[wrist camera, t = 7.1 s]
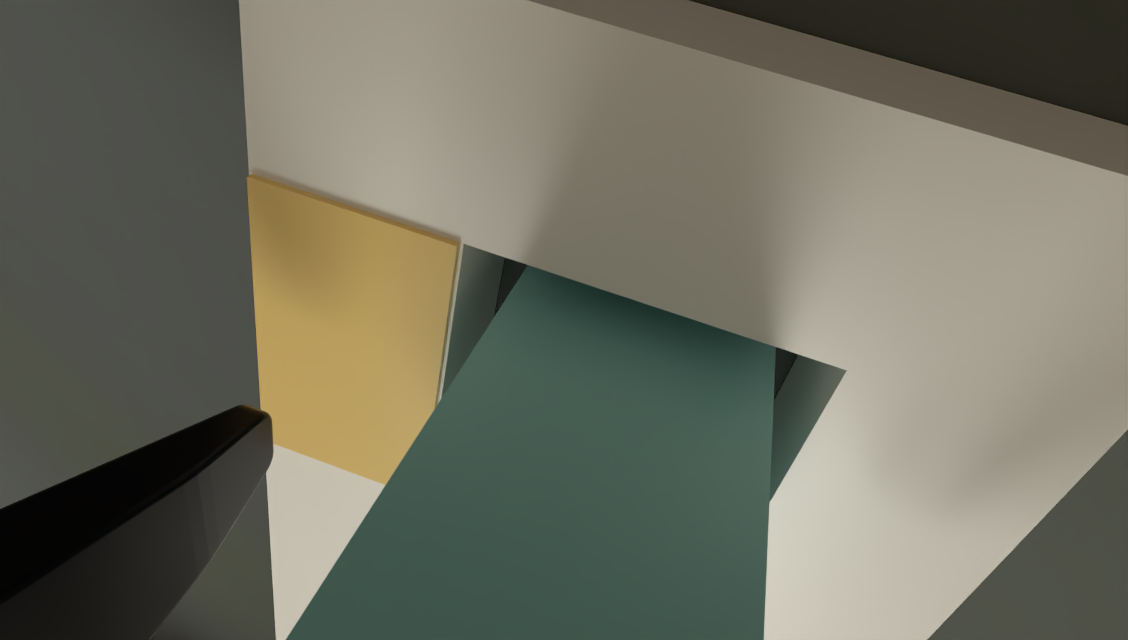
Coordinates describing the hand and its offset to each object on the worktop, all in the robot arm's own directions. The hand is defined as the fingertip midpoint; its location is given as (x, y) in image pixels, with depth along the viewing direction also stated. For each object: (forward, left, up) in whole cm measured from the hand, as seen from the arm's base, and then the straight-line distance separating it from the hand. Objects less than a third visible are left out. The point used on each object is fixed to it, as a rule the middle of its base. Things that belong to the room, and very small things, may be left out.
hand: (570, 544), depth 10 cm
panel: (0, +7, -4) cm, 8 cm away
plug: (0, 0, -4) cm, 4 cm away
